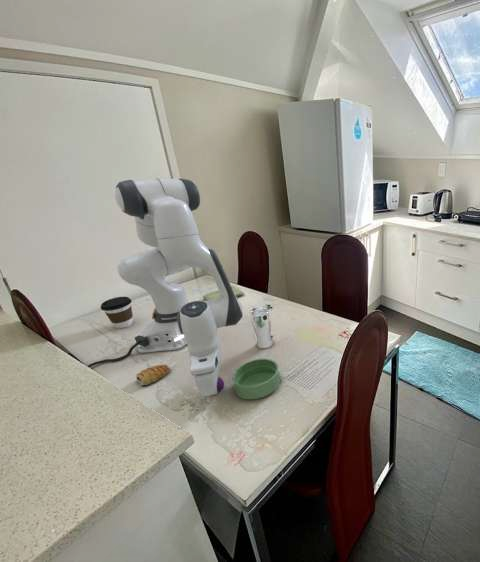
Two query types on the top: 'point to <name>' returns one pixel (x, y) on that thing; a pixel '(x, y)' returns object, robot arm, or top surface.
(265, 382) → the bowl
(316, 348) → the top surface
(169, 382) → the top surface
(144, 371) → the pastry
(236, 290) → the washcloth
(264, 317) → the beer glass
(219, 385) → the ball
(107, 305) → the coffee cup
